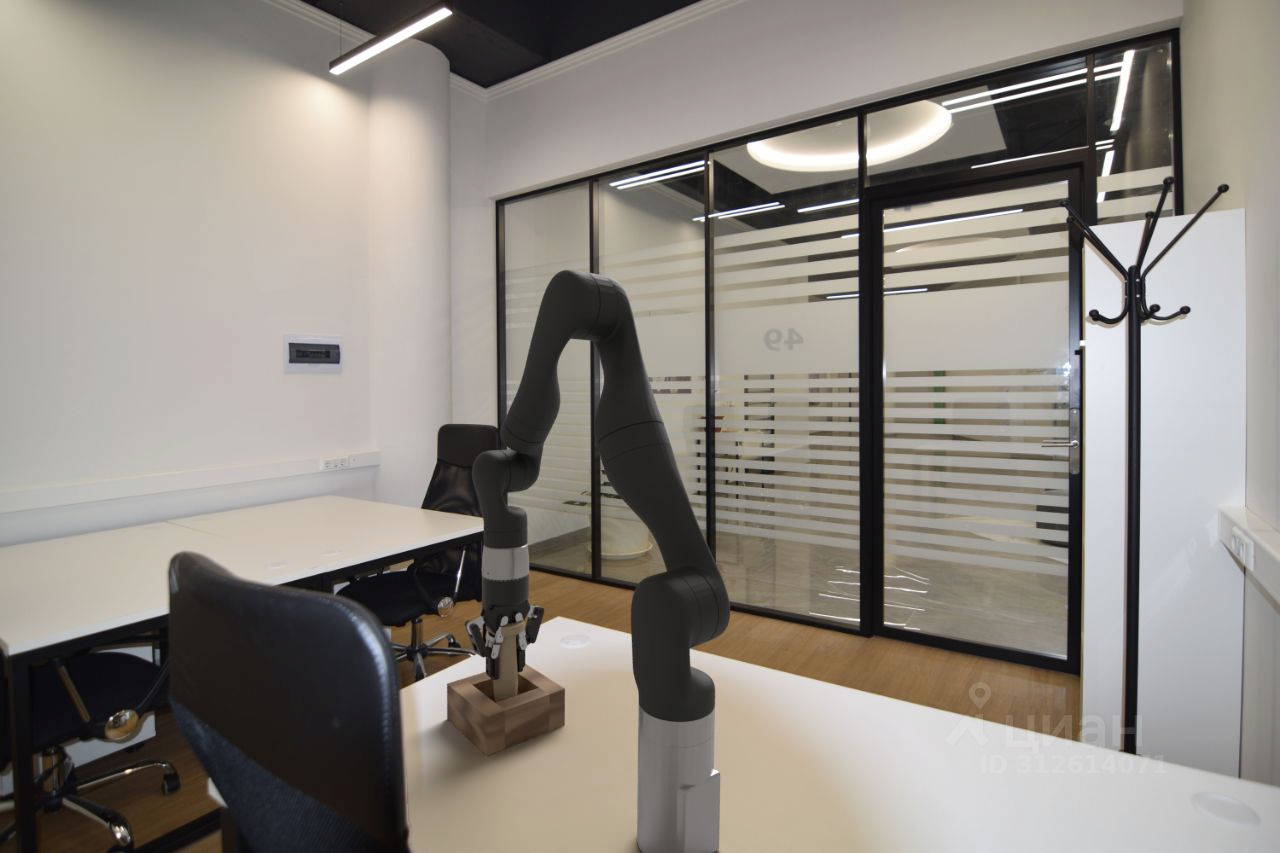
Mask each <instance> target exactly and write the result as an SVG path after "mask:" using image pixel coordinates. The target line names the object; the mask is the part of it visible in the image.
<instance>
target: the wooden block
mask: <svg viewBox="0 0 1280 853" xmlns="http://www.w3.org/2000/svg"><path fill="white" fill-rule="evenodd" d="M446 719H447V720H448V721H449V723H451V724H452V725H453V726H454V727H455V726H456V727H457V728H456V727H455V728H456V729H457V730H459V731H460V732H461V733H462V734H463V735H464V736H465V737H466V738H467V739H468V740H469V741H470V742H472V744H473V745H475V746H476V748H478V749H479V750H480V751H481V752H482V753H483V754H484V755H485V756H487V757H488V756H490V755H493V754H494V753H495V754H496V753H497V752H501V751H503V750H505V749H507V748H510V747H513V746H515V745H518V744H520V743H522V742H525V741H527V740H530V739H533V738H534V737H538V736H539V735H542V734H544V733H547V732H550V731H552V730H554V729H557V728H559V727H561V726H564V725H566V689H565V687H563V686H561V685H560V684H559V683H557V682H555V681H553V680H552V679H551V678H548V677H547V676H546V675H544V674H542V673H541V672H540V671H538V670H536V669H535V668H533V667H532V666H530V665H528V664H527V663H525V667H523V671H522V672H519V673H518V689H517V696H514V697H511V698H508V699H505V700H502V701H500V702H497V703H496V702H495V698H494V687H493V680H492V679H491V678H490V677H489V676H488V675H487V674H486V671H483V672H480V673H477V674H474V675H471V676H468V677H465V678H461V679H458V680H455V681H450V682H448V683H447V684H446Z"/></svg>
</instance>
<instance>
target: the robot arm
mask: <svg viewBox="0 0 1280 853" xmlns="http://www.w3.org/2000/svg"><path fill="white" fill-rule="evenodd" d="M629 298H630V297H629V296H628V293H627V291H626V289H625V288H624V286H623V285H622V284H621V283H620V281H618V280H616V279H615V278H612V277H610V276H607V275H602V274H598V273H592V272H586V271H583V270H577V269H564V270H561V271H558V272H557V273H556V274H554V276H553V277H552V278H551V280H550V281H549V283H548V284H547V286H546V288H545V291H544V293H543V296H542V299H541V302H540V305H539V309H538V312H537V313H538V314H537V317H536V321H535V324H534V328H533V332H532V337H531V340H530V345H529V349H528V352H527V357H526V360H525V361H526V362H525V365H524V369H523V373H522V377H521V379H520V383H519V386H518V388H517V391H516V393H515V396H514V399H513V400H512V402H511V405H510V407H509V408H508V412H507V413H506V416H505V418H504V420H503V423H502V425H501V428H500V434H499V435H500V439H501V441H502V442H503V444H504V445H505V446H506V447H507V448H508V449H499V450H497V449H495V450H487V451H483V452H481V453H479V454H478V456H476V457H475V460H474V462H473V464H472V468H471V478H472V483H473V486H474V490H475V492H476V496H477V500H478V504H479V507H480V512H481V516H482V520H483V550H482V559H481V588H482V589H481V590H482V591H481V592H482V593H481V594H482V595H481V597H482V598H481V599H482V609H481V611H480V616H477V618H475V619H473V620H470V619H468V620H466V621H465V623H464V628H465V630H466V633H467V635H468V638H469V641H470V643H471V646H472V649H473V652H474V653H475V654H477V655H478V656H479V657H481V658H483V659H484V658H485V672H486V674H487V675H488V676H489V677H490V678H491V679H492V680H497V679H499V657H497V656H498V652H499V648H500V644H502V642H503V637H504V636H502V635H501V627H505V626H507V624H510V623H513V622H515V623H520V622H523V620H525V619H526V618H527V620H525V621H526V622H525V629H524V630H523V631H522V632H521V633H519V634H518V635H516V654H517V669H518V673H519V672H522V671H523V667H525V664H526V649H527V647H528V646H530V644H532V645H533V644H535V643H536V641H537V638H538V635H539V633H540V629H541V625H542V621H543V617H544V614H545V608H543V607H542V606H540V605H537V604H536V603H535V604H532V605H531V604H530V602H529V598H530V556H529V555H530V554H529V546H528V541H529V540H528V537H529V536H528V532H529V531H528V529H529V528H528V526H529V525H528V514H527V511H526V510H525V509H523V508H522V507H519V506H512V505H507V503H506V501H505V499H504V494H508V493H509V494H510V493H518V492H524V491H526V490H529V489H530V488H531V487H533V485H535V483H536V482H537V480H538V478H539V476H540V472H541V464H542V463H541V462H542V457H543V452H544V446H545V442H546V440H547V438H548V436H549V434H550V433H551V430H552V428H553V426H554V424H555V422H556V420H557V417H558V414H559V411H560V409H561V408H560V407H561V390H560V384H559V377H558V366H559V360H560V357H561V355H562V353H563V351H564V349H565V347H566V346H567V344H568V343H569V342H570V341H571V340H578V341H579V340H580V341H581V340H582V341H591V342H592V343H593V344H594V346H595V348H596V350H597V353H598V357H599V359H600V363H601V368H602V373H603V385H602V391H601V394H600V397H599V401H598V405H597V408H596V414H595V417H594V422H593V423H594V424H593V425H594V427H593V432H594V439H595V443H596V446H597V450H598V453H599V457H600V460H601V464H602V467H603V469H604V473H605V476H606V478H607V481H608V483H609V484H610V486H611V487H612V489H613V490H614V491H615V493H616V494H617V495H618V496H619V497H620V499H621V500H622V501H623V502H624V503H625V504H626V505H627V506H628V508H630V509H631V511H632V512H633V513H634V514H635V515H636V516H637V517H638V518H639V519H640V520H641V522H642V523H643V524H644V525H645V526H646V528H647V529H648V530H649V532H650V533H651V534H652V537H653V538H654V540H655V542H656V545H657V546H658V549H659V552H660V554H661V557H662V560H663V562H664V566H665V569H666V571H663V572H660V573H655V574H652V575H650V576H647V577H645V578H643V579H642V580H640V581H639V583H638V584H637V585H636V587H635V589H634V592H633V594H632V598H631V605H630V631H631V632H630V633H631V635H630V636H631V656H632V659H631V660H632V670H633V671H632V672H633V677H634V682H635V684H636V688H637V691H638V718H637V719H638V722H637V723H638V725H637V730H638V731H637V786H636V787H637V796H636V797H637V798H636V799H637V800H636V801H637V802H636V803H637V805H636V809H637V812H636V813H637V814H636V815H637V817H636V825H637V826H636V841H637V845H638V848H639V850H640V852H641V853H715V852H717V851H719V850H720V823H721V820H720V818H721V816H720V814H721V773H720V771H718V770H716V769H715V729H716V725H715V724H716V720H715V719H716V686H715V682H714V680H713V678H712V677H711V676H710V675H709V674H707V672H704V671H703V670H701V669H699V668H696V667H694V666H691V651H690V650H691V649H692V648H695V647H698V646H700V645H702V644H705V643H707V642H711V641H712V640H714V639H716V638H718V637H720V636H721V635H722V634H724V633H725V631H726V630H727V628H728V626H729V622H730V619H731V602H730V598H729V595H728V591H727V588H726V584H725V582H724V579H723V576H722V574H721V572H720V569H719V567H718V565H717V563H716V561H715V559H714V557H713V556H714V555H713V554H712V552H711V550H710V547H709V546H708V543H707V541H706V539H705V537H704V534H703V532H702V530H701V528H700V525H699V522H698V520H697V518H696V515H695V512H694V510H693V507H692V504H691V502H690V499H689V496H688V493H687V491H686V487H685V484H684V482H683V479H682V476H681V473H680V470H679V467H678V465H677V460H676V457H675V454H674V450H673V447H672V444H671V441H670V439H669V435H668V432H667V429H666V426H665V423H664V421H663V420H664V419H663V417H662V416H661V413H660V410H659V408H658V405H657V401H656V398H655V395H654V391H653V388H652V385H651V382H650V379H649V375H648V371H647V367H646V365H645V361H644V358H643V355H642V354H643V353H642V350H641V349H642V348H641V345H640V341H639V336H638V330H637V326H636V322H635V317H634V313H633V308H632V305H631V302H630V299H629ZM484 625H485V627H486V626H487V627H488V628H489V629H490V630H491V631H492V632H493V633H495V634H496V636H494V635H493V634H492V633H490V632H489V631H487V630H486V633H485V640H486V642H485V640H484V638H483V636H482V633H483V632H484V630H483V629H484V628H483V627H484Z"/></svg>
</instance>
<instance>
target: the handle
mask: <svg viewBox="0 0 1280 853" xmlns="http://www.w3.org/2000/svg"><path fill="white" fill-rule="evenodd" d="M525 626H526V620H523V622H520V623H515V622H513V623H510V624H507V626H505V627H501V635H502V636H504V637H503V642H502V644H500V648H499V652H498V656H497V657H499V679H497V680H493V687H494V698H495V702H496V703H497V702H500V701H502V700H505V699H508V698H511V697H514V696H517V689H518V669H517V654H516V635H518V634H519V633H521V632H522V631H523V630H524V629H525ZM485 630H486V632H487V631H489V632H490V633H492V634H493V635H494V636H496V634H495V633H493V632H492V631H491V630H490V629H489V628H488V627H487V626H486V625H485Z"/></svg>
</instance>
